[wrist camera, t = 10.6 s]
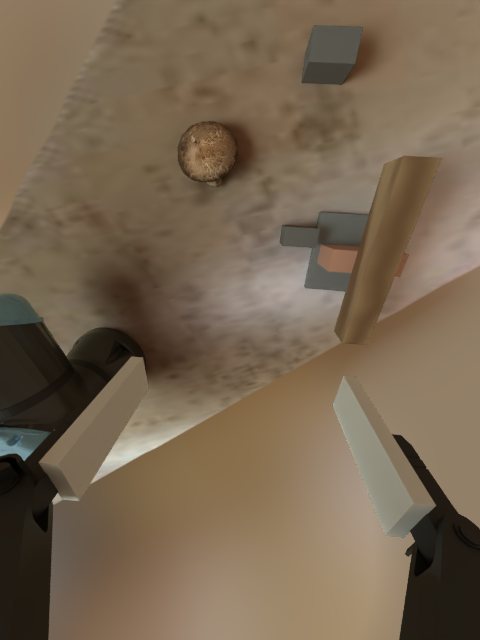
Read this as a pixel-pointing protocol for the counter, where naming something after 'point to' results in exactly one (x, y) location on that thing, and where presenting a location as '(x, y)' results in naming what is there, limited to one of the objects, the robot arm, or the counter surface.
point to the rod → (384, 244)
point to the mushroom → (207, 152)
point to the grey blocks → (324, 68)
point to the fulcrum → (337, 251)
